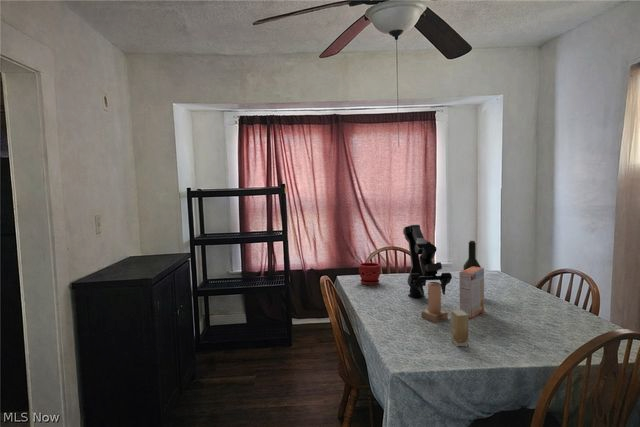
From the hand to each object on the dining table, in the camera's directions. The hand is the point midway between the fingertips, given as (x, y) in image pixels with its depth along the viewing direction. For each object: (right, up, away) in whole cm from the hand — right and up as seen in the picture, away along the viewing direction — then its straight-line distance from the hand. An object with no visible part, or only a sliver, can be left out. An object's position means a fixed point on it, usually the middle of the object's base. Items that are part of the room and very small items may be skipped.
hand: (433, 294), depth 171 cm
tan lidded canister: (0, -7, 0) cm, 7 cm away
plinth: (0, -10, 0) cm, 10 cm away
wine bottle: (+29, -8, +29) cm, 41 cm away
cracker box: (+19, -10, +4) cm, 22 cm away
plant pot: (-21, -6, +62) cm, 66 cm away
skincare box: (+1, -13, -27) cm, 30 cm away
